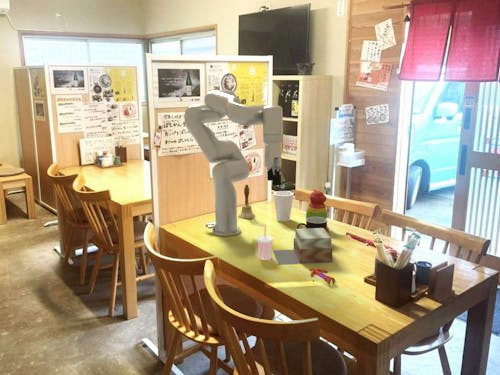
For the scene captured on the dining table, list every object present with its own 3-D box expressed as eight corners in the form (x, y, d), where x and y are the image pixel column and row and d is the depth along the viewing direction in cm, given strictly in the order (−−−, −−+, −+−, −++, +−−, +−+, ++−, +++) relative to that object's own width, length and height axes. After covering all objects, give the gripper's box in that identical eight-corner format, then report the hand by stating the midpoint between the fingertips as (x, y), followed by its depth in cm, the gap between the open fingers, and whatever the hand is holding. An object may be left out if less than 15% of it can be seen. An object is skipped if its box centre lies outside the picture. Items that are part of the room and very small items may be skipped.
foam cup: (293, 222, 213) (294, 196, 210) (273, 222, 213) (274, 196, 210) (291, 216, 223) (292, 191, 219) (273, 216, 223) (273, 191, 220)
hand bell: (236, 214, 226) (236, 183, 222) (252, 213, 228) (252, 182, 224) (240, 219, 218) (240, 187, 215) (257, 218, 220) (257, 186, 217)
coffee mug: (328, 240, 190) (328, 217, 187) (324, 247, 182) (325, 224, 179) (300, 237, 193) (301, 215, 191) (296, 244, 186) (296, 221, 183)
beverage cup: (263, 265, 165) (263, 229, 162) (253, 259, 170) (253, 224, 167) (276, 261, 169) (276, 225, 165) (266, 256, 173) (266, 221, 170)
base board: (278, 267, 163) (278, 264, 163) (272, 253, 176) (272, 250, 176) (332, 265, 165) (332, 262, 164) (322, 251, 178) (323, 248, 178)
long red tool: (387, 256, 176) (395, 250, 178) (386, 252, 175) (394, 246, 177) (342, 239, 195) (349, 233, 197) (341, 234, 194) (349, 229, 196)
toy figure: (318, 270, 161) (318, 263, 161) (341, 283, 151) (341, 275, 151) (300, 275, 158) (300, 268, 157) (322, 288, 147) (322, 281, 147)
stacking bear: (329, 232, 199) (331, 193, 195) (306, 232, 200) (307, 193, 195) (326, 225, 210) (327, 187, 206) (304, 224, 210) (305, 187, 206)
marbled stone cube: (299, 262, 164) (300, 239, 162) (293, 250, 176) (294, 228, 174) (331, 261, 165) (332, 238, 163) (323, 249, 177) (324, 227, 175)
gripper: (259, 137, 179) (260, 179, 183) (267, 141, 163) (268, 187, 166) (277, 136, 181) (278, 178, 184) (288, 140, 164) (288, 186, 167)
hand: (274, 182), depth 175 cm, fingers open, 9 cm apart
